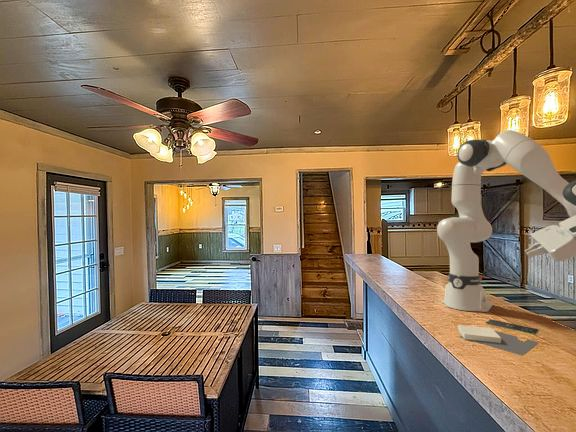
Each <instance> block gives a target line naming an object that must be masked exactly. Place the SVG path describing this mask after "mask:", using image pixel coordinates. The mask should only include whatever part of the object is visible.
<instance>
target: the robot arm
mask: <svg viewBox="0 0 576 432" xmlns="http://www.w3.org/2000/svg"><path fill="white" fill-rule="evenodd" d="M456 158H457V160H458V162H457V163H456V164H455V167H454V169H453V172H452V173H453V174H452V180H451V181H452V182H451V204H452V206H453V207H454V208H456V210H457V213H458V216H459V217H455V216H452V217H448V218H444V219H441V220H440V221H439V222H438V224H437V226H436V233H437V235H438V236H437V237H439V239H440V240H441V241H442V242H443V243H444V245H445V247H446V249H447V252H448V255H449V256H448V257H449V273H448V276H447V277H448V283H447V284H445V288H444V289H445V290H444V291H445V292H444V298H443V299H441V303H442V304H444V305H445V306H446V307H449V308H451V309H455V310H459V311H466V312H484V313H488V312H489V311H490V310H491V308H492V307H493V306H494V303H493V302H490V301H487V300H488V297H487V295H488V294H487V291H486V290H485V289H484V287H483V286H482V285H481V284H482V283H481V280H483V275H481V274H480V273H479V270H480V269H479V266H480V265H479V263H480V260H479V259H480V258H479V255H477V254H476V253H475V252H474V251H473V250H472V247H471V243H481V242H483V241H484V242H485V241H486V240H488V239H490V238H491V236H492V233H493V227H492V225H491V223H490V222H489V221H488V220H487V218H486V216H485V215H484V211H483V208H482V203H481V201H482V199H481V195H482V193H481V191H482V188H481V187H482V176H483V175H482V174H483V173H484V172H485V171H487V172H492V171H494V170H496V169H499V168H502V167H505V166H506V165H508V166H509V167H511V168H512V169H514V170H515V171H516V172H517V173H519V174H521V175H523V176H524V177H525V178H527V179H528V180H530V181H531V182H533V183H534V184H536V185H538V187H540V188H541V189H543V190H544V191H545V193H547V194H548V195H550V196H551V197H552V198H553V199H555V200H556V201H557V202H558V203H560V205H561V206H563V207H564V209H565V211H566V214H567V216H568V218H566V219H564V220H561V221H560V222H558V225H556V224H552V225H549V226H546V227H544V228H541V229H538V230H537V231H535V232H533V233H531V234H530V235H531V238H532V239H533V240H534V241H535V243H534V244H533V243H532V245H531V246H530V247H529V248H527V249H525V250H524V253H525V254H526V256H527V257H528V258H533V257H535V256H542V255H545V254H547V255H549V256H550V258H552V260H554V261H555V262H562V261H566V260H570V259H572V258H573V257H576V179H575V180H573V181H571V182H569V181H568V180H566V179H564V178H563V177H562V176H561V175H560V174H559V172H558V170H557V169H556V167H555V165H554V163H553V161H552V159H551V156H550V154H549V152H548V151H547V150H546V149H545V147H543V146H542V144H540V143H538V142H537V141H536V140H534V139H533V138H531V137H529V136H527V135H525V134H523V133H521V132H518V131H515V130H512V129H511V130H504V131H501V132H500V133H499V134H497V135H496V137H495V138H494V139H492V140H490V139H489V140H488V139H487V140H486V139H469V140H466V141H464V142H463V143H461V145H460V146H459V148H458V150H457V157H456Z"/></svg>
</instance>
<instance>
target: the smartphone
mask: <svg viewBox="0 0 576 432" xmlns="http://www.w3.org/2000/svg"><path fill="white" fill-rule="evenodd" d="M485 324H486V325H490V326H493V327H498V328H502V327H503V328H502V329H507V330H511V331H515V332H516V331H517V332H520V333H526V334H531V335H537V333H538V332H539V331H540V330H539V329H538V328H534V327H529V326H524V325H520V324H515V323H509V322H505V321H501V320H496V319H489V320H487V321H486V322H485Z"/></svg>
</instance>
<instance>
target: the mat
mask: <svg viewBox="0 0 576 432" xmlns="http://www.w3.org/2000/svg"><path fill="white" fill-rule="evenodd" d="M494 331H495V332H496V333H497V334H498V335H499V336H500V337H501V344H498V343H489V342H480V341H473V342H474V343H478V344H481V345H485V346H488V347H492V348H495V349H498V350H502V351H504V352H505V351H506V352H509V353H513V354H515V355H519V356H524V355H526V354H527V353H529V352H530V351H531V350H532V349H533V348H534V347H536V346H537V345H538V344H540V342H539V341H536V340H533V339H528V338H526V339H527V341H525V342H523V341H520V340H518V338H517V337H518V336H516V335H512V334H508V333H504V332H502V331H501V332H500V331H496V330H494ZM460 338H461V339H463V340H464V338H463V337H462V335H461V336H459V339H460ZM469 341H470V342H472V341H471V340H469Z"/></svg>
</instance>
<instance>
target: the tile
mask: <svg viewBox="0 0 576 432" xmlns="http://www.w3.org/2000/svg"><path fill="white" fill-rule="evenodd" d="M457 331H458V332H459V334H460V335H461V336H462V337H463V338H464V339H463V338H462V339H463V340H464V341H470V340H471V341H470V342H474V341H480V342H489V343H498V344H501V337H500V336H499V335H498V334H497V333H496V332H495V331H496V330H494V329H493V328H491V327H483V326H474V325H473V326H472V325H462V324H458V325H457Z"/></svg>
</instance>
